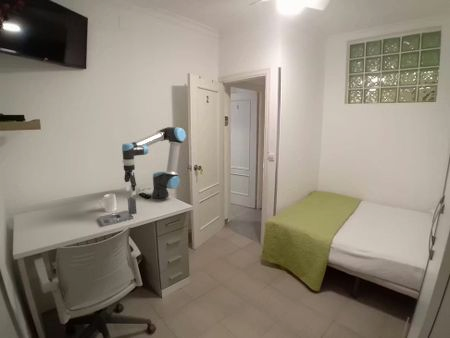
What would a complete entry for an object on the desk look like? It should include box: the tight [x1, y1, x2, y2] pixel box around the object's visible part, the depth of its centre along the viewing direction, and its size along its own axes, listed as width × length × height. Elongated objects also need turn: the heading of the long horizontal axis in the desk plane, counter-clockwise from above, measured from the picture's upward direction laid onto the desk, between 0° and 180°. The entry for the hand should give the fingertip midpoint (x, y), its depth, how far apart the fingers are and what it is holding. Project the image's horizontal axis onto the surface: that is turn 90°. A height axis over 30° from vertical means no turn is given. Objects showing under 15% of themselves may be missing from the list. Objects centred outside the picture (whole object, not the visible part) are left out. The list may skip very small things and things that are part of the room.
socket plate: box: [97, 210, 134, 228], centre depth 165 cm, size 20×14×3 cm
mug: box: [99, 193, 118, 213], centre depth 180 cm, size 12×8×12 cm
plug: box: [127, 195, 137, 216], centre depth 175 cm, size 4×4×14 cm
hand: (130, 192), depth 172 cm, fingers open, 13 cm apart
